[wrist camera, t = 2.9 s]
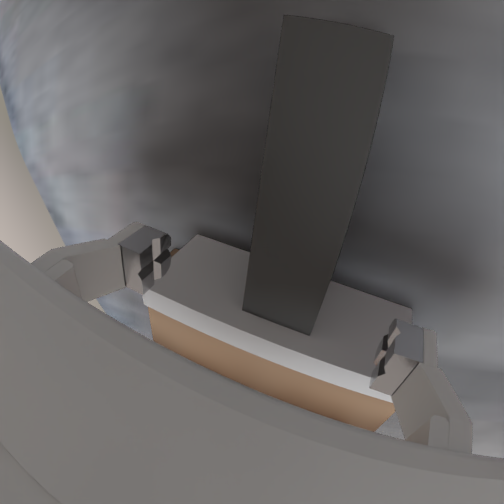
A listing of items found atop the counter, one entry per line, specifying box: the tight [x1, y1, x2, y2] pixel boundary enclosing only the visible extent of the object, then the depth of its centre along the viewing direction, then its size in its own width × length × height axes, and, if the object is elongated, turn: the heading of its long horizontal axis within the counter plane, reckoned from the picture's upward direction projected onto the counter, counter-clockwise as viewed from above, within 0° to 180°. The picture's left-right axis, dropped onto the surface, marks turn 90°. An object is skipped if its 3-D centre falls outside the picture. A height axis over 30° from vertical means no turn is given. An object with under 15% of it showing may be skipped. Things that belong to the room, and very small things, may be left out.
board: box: [148, 249, 396, 432], centre depth 19 cm, size 12×15×3 cm
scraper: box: [142, 15, 412, 403], centre depth 11 cm, size 12×12×5 cm
